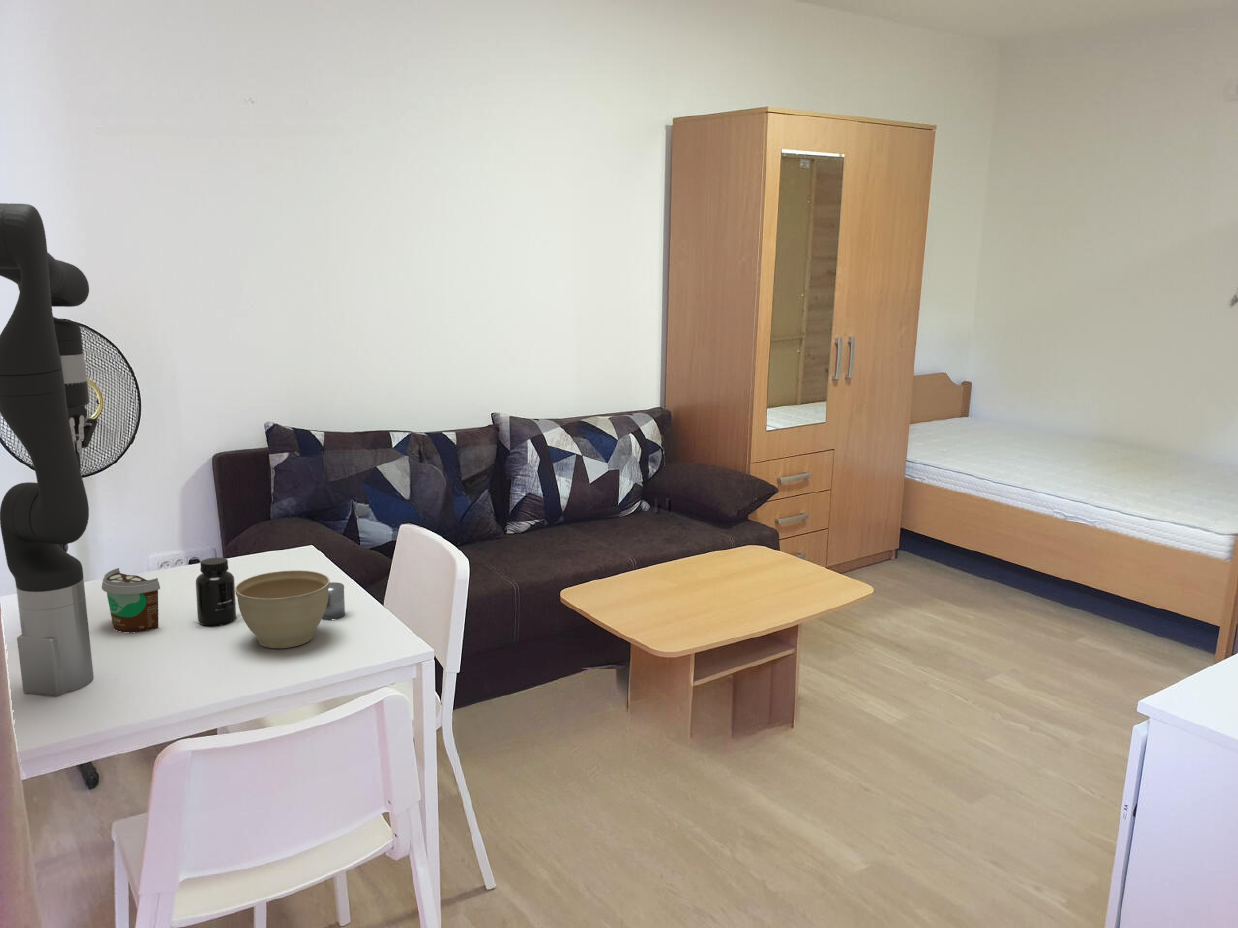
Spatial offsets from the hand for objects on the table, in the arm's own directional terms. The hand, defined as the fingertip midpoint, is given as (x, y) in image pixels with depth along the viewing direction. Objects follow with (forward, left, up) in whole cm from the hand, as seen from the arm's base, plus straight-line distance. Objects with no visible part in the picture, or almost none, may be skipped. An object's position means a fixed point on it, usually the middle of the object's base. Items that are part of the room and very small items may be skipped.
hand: (72, 473), depth 171 cm
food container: (-1, -9, -29) cm, 31 cm away
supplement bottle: (+6, -23, -29) cm, 38 cm away
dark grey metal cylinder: (+13, -43, -29) cm, 54 cm away
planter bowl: (0, -40, -29) cm, 50 cm away
